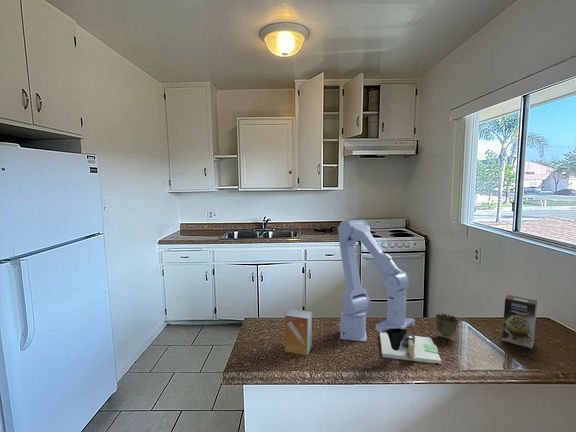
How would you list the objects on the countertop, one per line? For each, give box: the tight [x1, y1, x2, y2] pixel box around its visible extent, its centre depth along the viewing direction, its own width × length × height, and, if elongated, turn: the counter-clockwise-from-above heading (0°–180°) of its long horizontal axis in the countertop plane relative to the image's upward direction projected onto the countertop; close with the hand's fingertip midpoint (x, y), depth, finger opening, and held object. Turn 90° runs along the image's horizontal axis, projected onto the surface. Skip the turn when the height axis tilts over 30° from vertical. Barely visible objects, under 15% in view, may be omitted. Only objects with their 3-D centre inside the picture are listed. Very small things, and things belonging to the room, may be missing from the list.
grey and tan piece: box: [401, 332, 416, 358], centre depth 106 cm, size 11×4×4 cm, turn 167°
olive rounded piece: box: [435, 313, 459, 340], centre depth 117 cm, size 8×7×8 cm
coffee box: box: [501, 294, 538, 349], centre depth 114 cm, size 9×6×16 cm
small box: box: [284, 308, 313, 357], centre depth 108 cm, size 8×6×13 cm
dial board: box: [379, 331, 442, 365], centre depth 109 cm, size 19×18×1 cm
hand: (395, 349), depth 104 cm, fingers closed
